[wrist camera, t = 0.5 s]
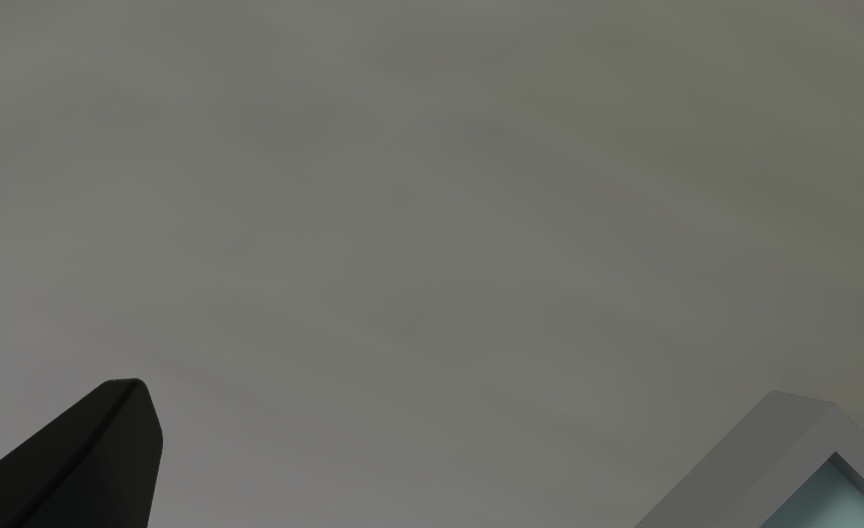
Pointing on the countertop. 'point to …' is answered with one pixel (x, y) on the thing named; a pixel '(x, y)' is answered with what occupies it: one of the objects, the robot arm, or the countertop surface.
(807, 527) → the peg box
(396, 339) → the countertop surface
